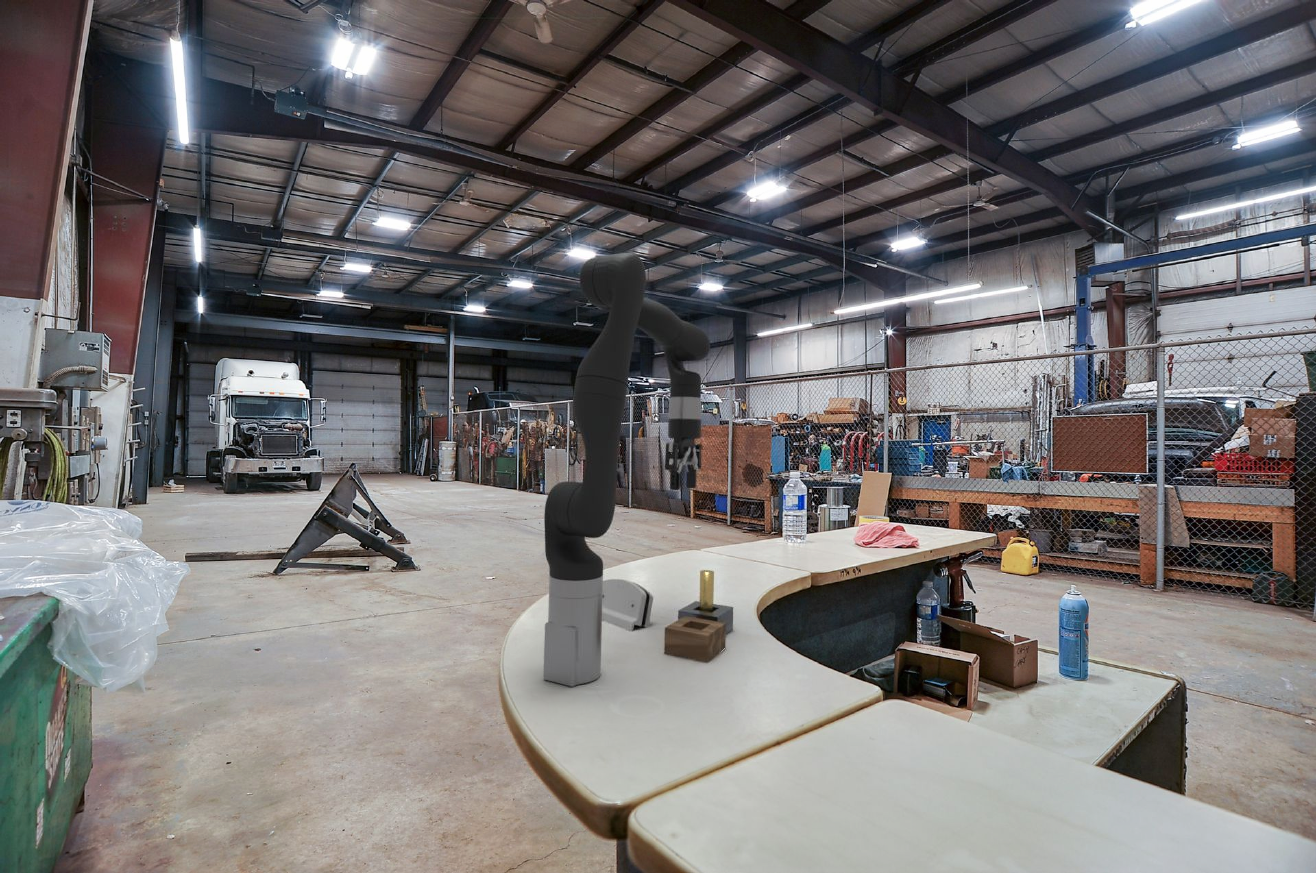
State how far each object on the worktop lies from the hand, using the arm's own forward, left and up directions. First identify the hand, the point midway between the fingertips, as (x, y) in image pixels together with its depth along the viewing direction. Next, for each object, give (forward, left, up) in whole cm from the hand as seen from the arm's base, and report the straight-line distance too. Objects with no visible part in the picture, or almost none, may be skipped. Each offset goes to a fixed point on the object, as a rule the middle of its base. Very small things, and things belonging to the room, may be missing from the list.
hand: (683, 488), depth 136 cm
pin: (-4, -8, -30) cm, 31 cm away
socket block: (-4, -8, -30) cm, 31 cm away
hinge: (-6, +12, -30) cm, 33 cm away
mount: (-16, -11, -30) cm, 36 cm away
